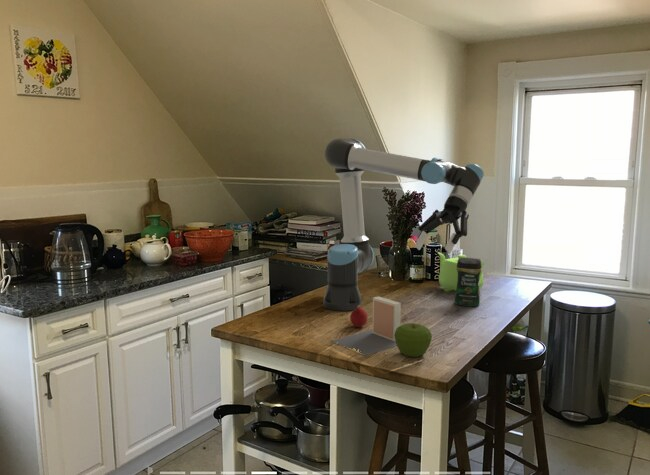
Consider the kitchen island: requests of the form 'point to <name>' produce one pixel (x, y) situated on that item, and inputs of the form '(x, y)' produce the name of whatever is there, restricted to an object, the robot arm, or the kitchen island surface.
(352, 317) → the red pomegranate
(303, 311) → the kitchen island surface
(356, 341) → the mat
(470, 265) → the coffee jar
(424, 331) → the apple
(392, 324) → the tile
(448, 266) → the teapot
